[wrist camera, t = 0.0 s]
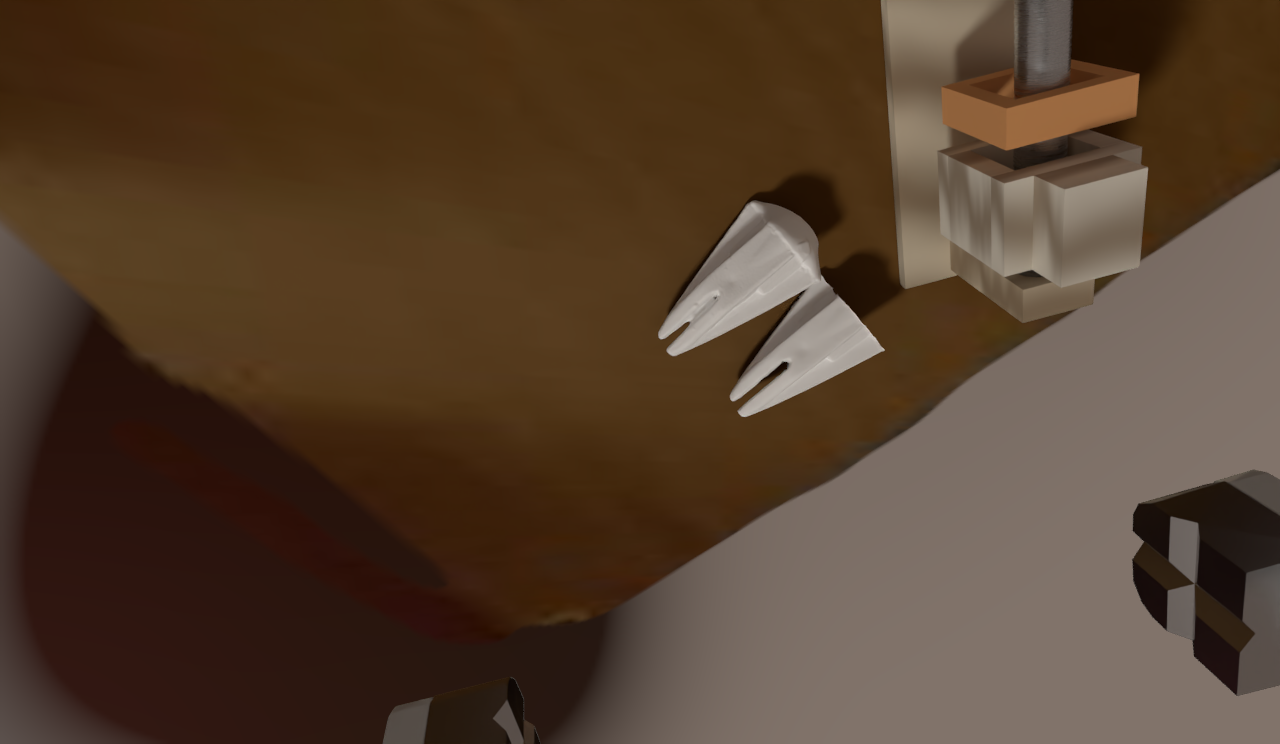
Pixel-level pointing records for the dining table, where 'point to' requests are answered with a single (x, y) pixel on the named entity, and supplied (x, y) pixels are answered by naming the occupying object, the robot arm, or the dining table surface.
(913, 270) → the stand
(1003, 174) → the sleeve
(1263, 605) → the robot arm
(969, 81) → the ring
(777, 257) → the pair of white wedges
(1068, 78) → the pipe
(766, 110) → the dining table surface
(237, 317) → the dining table surface
